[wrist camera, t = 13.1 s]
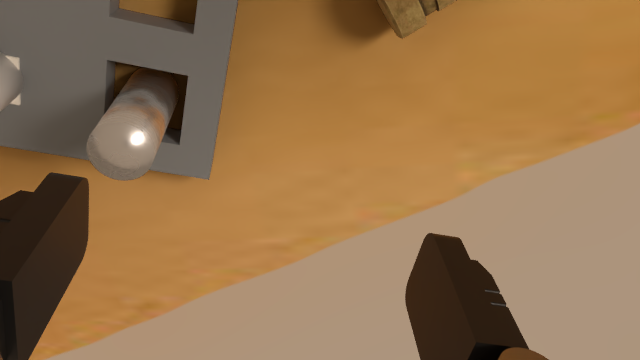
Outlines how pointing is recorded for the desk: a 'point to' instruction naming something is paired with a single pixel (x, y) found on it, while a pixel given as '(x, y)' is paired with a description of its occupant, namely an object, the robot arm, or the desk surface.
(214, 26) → the pin board
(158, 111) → the steel pin
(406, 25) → the gavel
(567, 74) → the desk surface
